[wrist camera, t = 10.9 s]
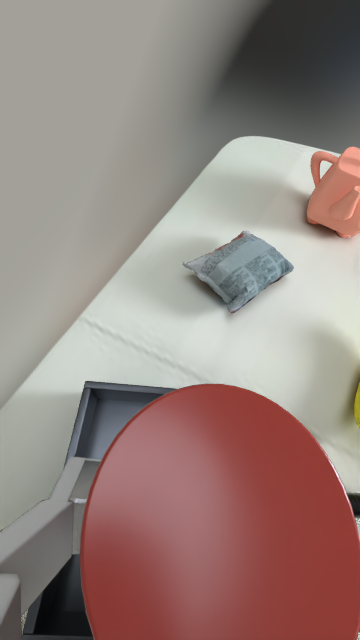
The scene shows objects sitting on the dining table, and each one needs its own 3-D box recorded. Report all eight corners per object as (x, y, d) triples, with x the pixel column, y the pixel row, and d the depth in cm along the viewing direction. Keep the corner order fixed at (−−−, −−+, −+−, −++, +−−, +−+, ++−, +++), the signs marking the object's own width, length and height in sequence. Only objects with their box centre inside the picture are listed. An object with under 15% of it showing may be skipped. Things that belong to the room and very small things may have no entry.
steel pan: (39, 622, 18) (17, 651, 15) (92, 392, 26) (85, 380, 22) (389, 634, 19) (435, 663, 16) (335, 413, 27) (359, 404, 24)
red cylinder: (116, 555, 13) (32, 761, 3) (132, 440, 15) (111, 372, 6) (220, 560, 13) (415, 761, 4) (218, 446, 16) (328, 392, 6)
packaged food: (180, 277, 34) (185, 248, 30) (242, 241, 39) (254, 212, 35) (227, 325, 31) (240, 301, 27) (288, 280, 36) (308, 253, 32)
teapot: (283, 191, 47) (314, 125, 38) (344, 192, 48) (387, 129, 40) (314, 250, 40) (361, 186, 31) (385, 249, 41) (447, 188, 33)
